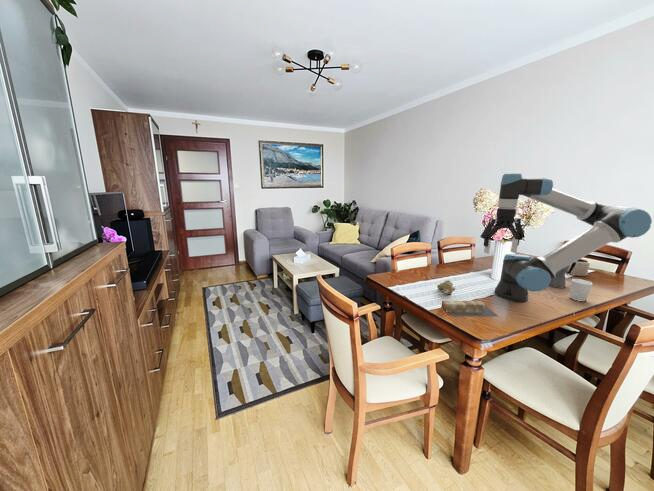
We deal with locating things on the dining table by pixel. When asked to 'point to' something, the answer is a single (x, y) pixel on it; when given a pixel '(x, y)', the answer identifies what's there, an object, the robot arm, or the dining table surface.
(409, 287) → the dining table surface
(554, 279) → the coffeepot
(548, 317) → the dining table surface
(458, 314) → the rubber mat
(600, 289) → the dining table surface
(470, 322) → the dining table surface
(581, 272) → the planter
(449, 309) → the wooden block
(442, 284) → the turtle figurine
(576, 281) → the white cup
